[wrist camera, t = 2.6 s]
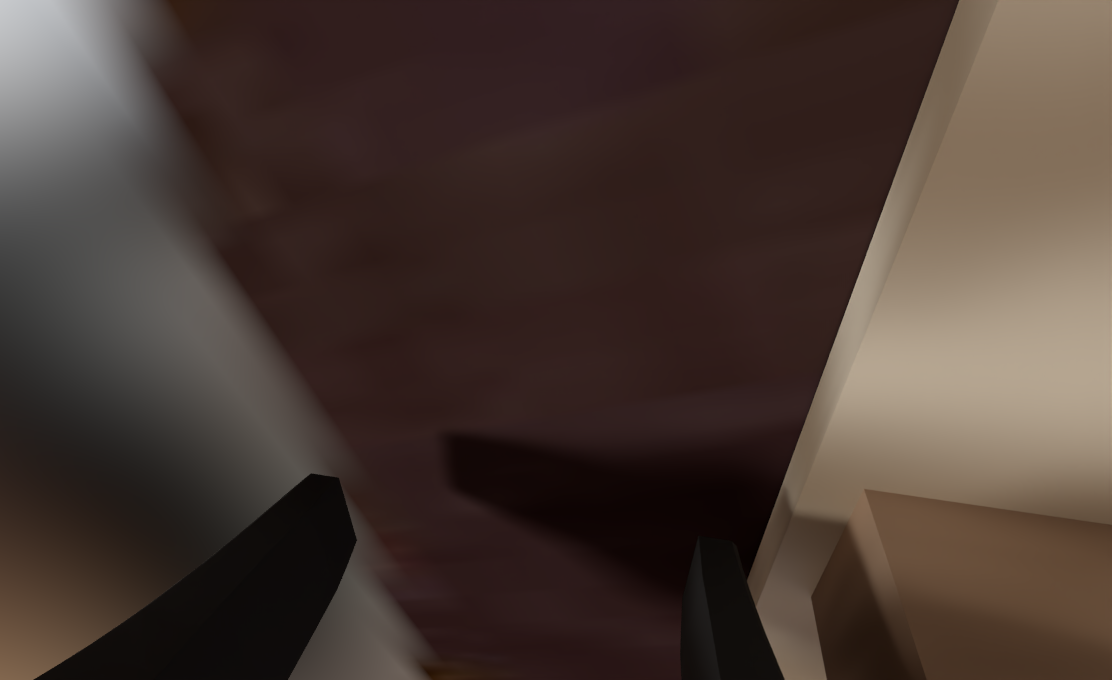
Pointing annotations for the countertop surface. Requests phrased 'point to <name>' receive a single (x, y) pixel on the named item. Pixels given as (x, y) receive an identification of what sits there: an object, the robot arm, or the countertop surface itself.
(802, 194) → the countertop surface
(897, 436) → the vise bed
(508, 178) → the countertop surface
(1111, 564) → the block
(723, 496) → the countertop surface
